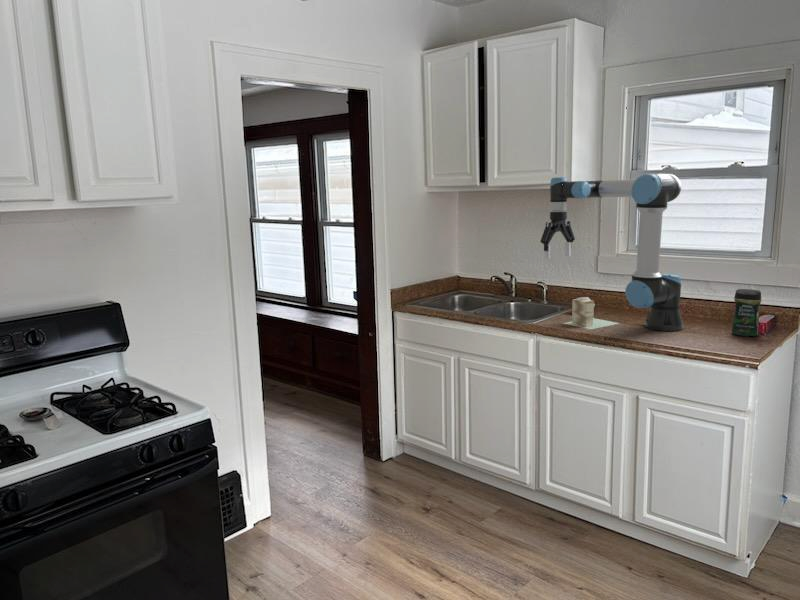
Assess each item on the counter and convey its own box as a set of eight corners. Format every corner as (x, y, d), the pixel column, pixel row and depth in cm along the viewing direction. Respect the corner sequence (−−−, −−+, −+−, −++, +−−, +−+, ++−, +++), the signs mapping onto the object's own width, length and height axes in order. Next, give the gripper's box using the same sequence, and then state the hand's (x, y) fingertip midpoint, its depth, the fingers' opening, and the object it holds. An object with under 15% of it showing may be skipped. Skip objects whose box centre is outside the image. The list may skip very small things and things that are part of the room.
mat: (619, 324, 289) (619, 323, 289) (590, 330, 279) (590, 329, 279) (590, 318, 302) (590, 317, 302) (562, 323, 292) (562, 323, 292)
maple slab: (593, 325, 285) (593, 300, 283) (586, 327, 283) (586, 302, 281) (578, 322, 292) (579, 298, 290) (571, 324, 289) (572, 299, 288)
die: (592, 318, 305) (600, 299, 308) (575, 309, 305) (583, 290, 307) (584, 321, 314) (592, 303, 316) (568, 312, 313) (575, 294, 316)
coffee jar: (729, 335, 264) (732, 289, 261) (733, 331, 271) (736, 287, 267) (756, 338, 259) (760, 291, 255) (760, 334, 265) (763, 288, 262)
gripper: (570, 210, 313) (570, 254, 317) (532, 212, 300) (532, 258, 304) (583, 210, 307) (582, 255, 311) (544, 212, 294) (544, 259, 297)
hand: (557, 257), depth 307 cm, fingers open, 13 cm apart
